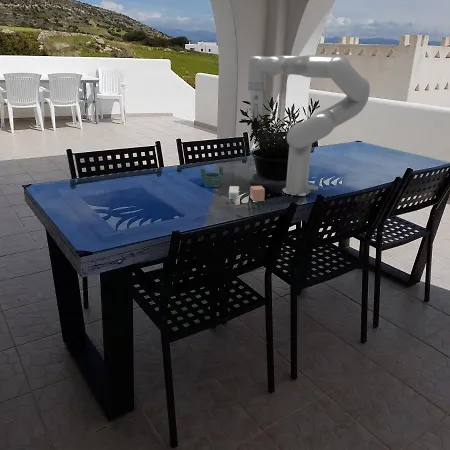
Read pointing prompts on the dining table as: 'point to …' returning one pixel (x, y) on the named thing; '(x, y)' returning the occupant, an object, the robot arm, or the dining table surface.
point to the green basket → (212, 176)
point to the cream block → (233, 192)
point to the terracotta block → (257, 193)
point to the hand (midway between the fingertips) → (254, 129)
